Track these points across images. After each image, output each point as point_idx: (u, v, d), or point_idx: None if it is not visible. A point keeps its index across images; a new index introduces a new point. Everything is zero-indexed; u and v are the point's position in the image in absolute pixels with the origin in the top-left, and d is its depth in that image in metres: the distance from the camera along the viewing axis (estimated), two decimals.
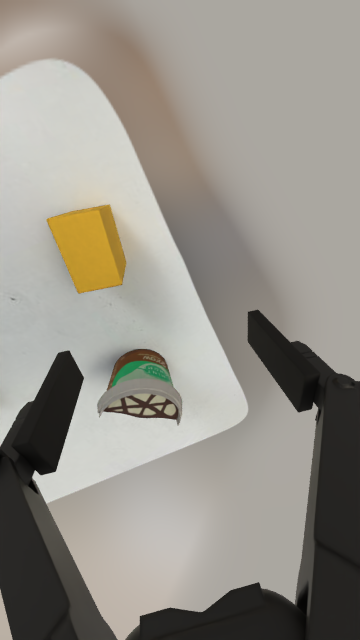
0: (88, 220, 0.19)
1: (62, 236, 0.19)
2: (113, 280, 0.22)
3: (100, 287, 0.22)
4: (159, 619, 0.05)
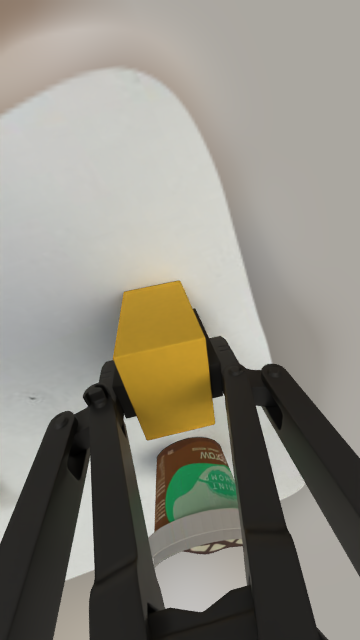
0: (184, 353, 0.11)
1: (136, 378, 0.11)
2: (203, 421, 0.14)
3: (182, 431, 0.14)
4: (159, 619, 0.05)
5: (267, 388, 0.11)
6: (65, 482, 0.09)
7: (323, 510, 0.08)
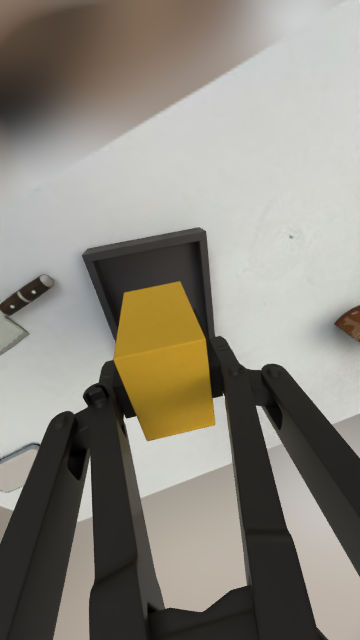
0: (184, 354, 0.11)
1: (136, 379, 0.11)
2: (204, 421, 0.14)
3: (182, 431, 0.14)
4: (159, 619, 0.05)
5: (267, 388, 0.11)
6: (65, 482, 0.09)
7: (323, 510, 0.08)
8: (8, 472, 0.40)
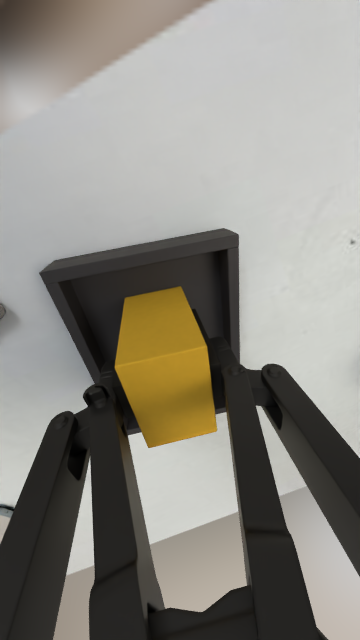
0: (186, 362, 0.11)
1: (138, 386, 0.11)
2: (205, 428, 0.14)
3: (183, 438, 0.14)
4: (159, 619, 0.05)
5: (267, 388, 0.11)
6: (65, 482, 0.09)
7: (323, 510, 0.08)
8: None
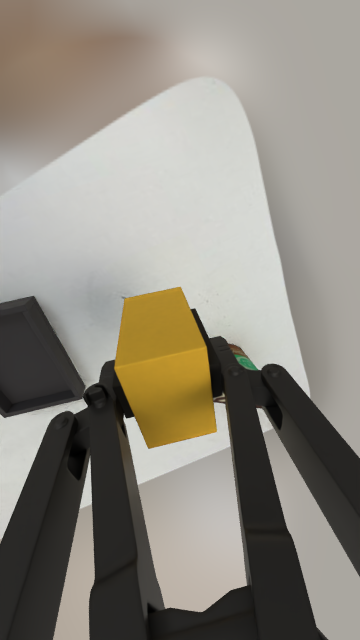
0: (185, 363, 0.11)
1: (137, 387, 0.11)
2: (205, 429, 0.14)
3: (183, 438, 0.14)
4: (159, 619, 0.05)
5: (267, 388, 0.11)
6: (65, 482, 0.09)
7: (323, 510, 0.08)
8: None
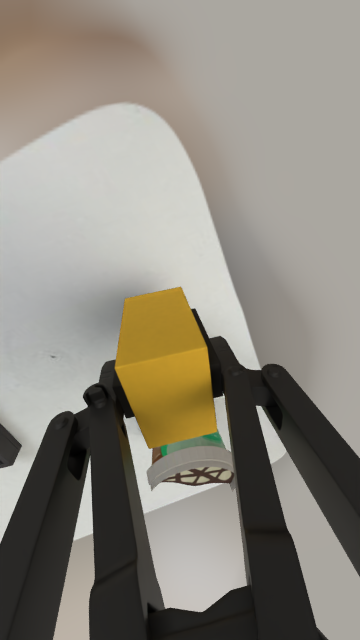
0: (186, 363, 0.11)
1: (138, 387, 0.11)
2: (206, 429, 0.14)
3: (184, 439, 0.14)
4: (159, 619, 0.05)
5: (267, 388, 0.11)
6: (65, 482, 0.09)
7: (323, 510, 0.08)
8: None
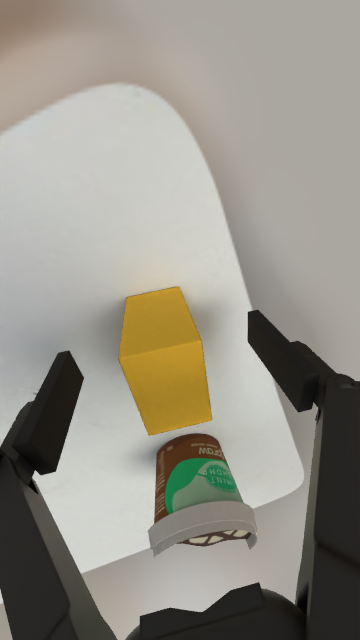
0: (182, 354, 0.12)
1: (139, 377, 0.12)
2: (201, 417, 0.15)
3: (181, 426, 0.15)
4: (159, 619, 0.05)
5: None
6: None
7: None
8: None
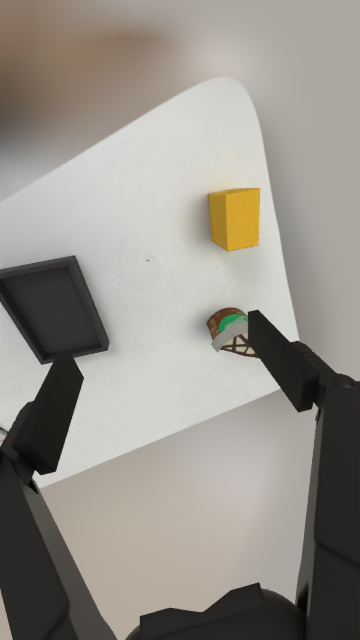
0: (251, 195, 0.28)
1: (231, 207, 0.28)
2: (253, 241, 0.30)
3: (243, 247, 0.31)
4: (159, 619, 0.05)
5: None
6: None
7: None
8: None
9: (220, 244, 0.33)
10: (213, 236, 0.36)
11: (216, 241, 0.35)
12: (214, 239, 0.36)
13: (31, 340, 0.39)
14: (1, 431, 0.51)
